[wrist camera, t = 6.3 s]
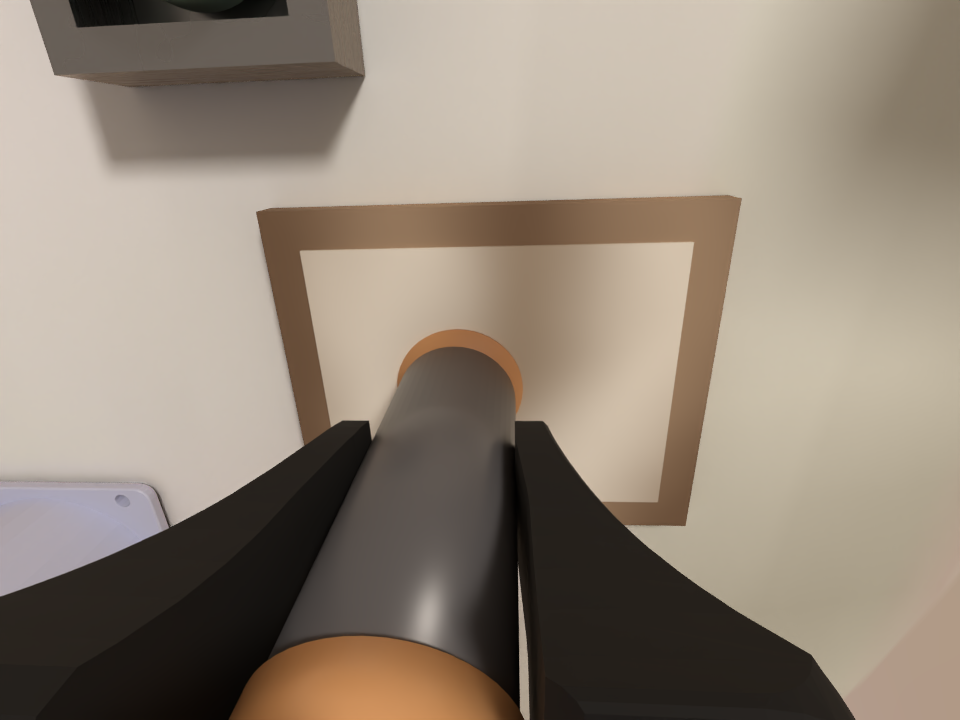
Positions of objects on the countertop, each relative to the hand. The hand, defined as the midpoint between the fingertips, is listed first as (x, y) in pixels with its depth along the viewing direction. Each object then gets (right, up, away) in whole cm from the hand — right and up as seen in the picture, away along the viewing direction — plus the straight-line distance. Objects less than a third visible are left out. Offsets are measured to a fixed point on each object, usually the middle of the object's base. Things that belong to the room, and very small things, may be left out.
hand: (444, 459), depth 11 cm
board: (+1, +2, +4) cm, 5 cm away
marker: (0, +1, +2) cm, 3 cm away
